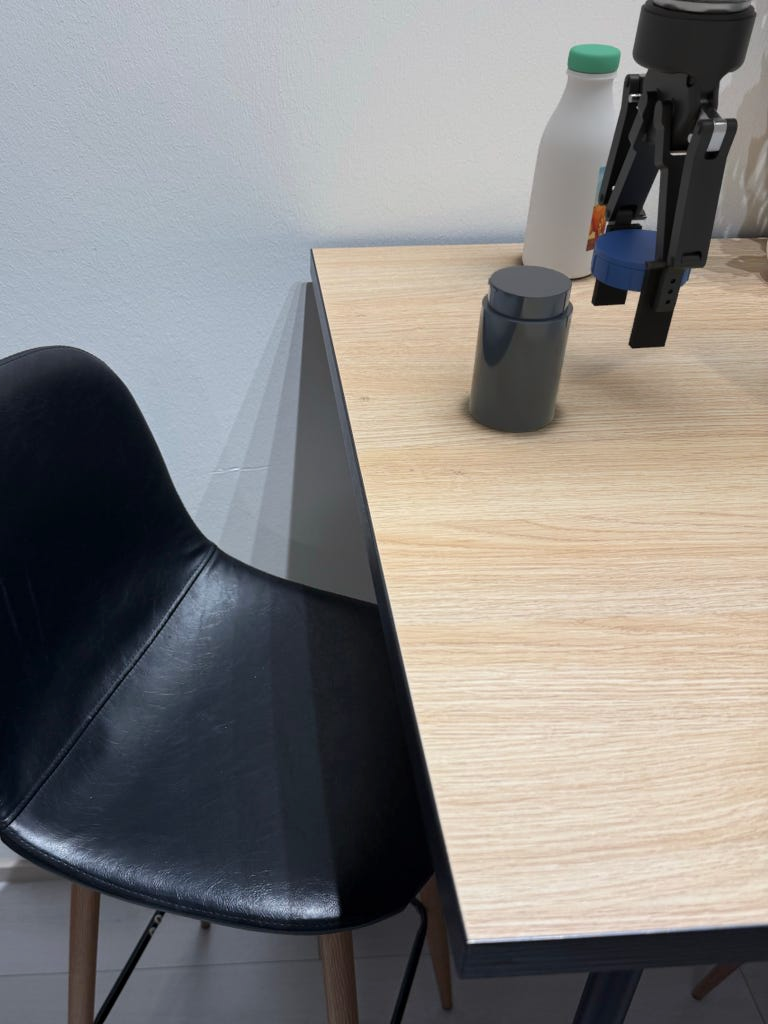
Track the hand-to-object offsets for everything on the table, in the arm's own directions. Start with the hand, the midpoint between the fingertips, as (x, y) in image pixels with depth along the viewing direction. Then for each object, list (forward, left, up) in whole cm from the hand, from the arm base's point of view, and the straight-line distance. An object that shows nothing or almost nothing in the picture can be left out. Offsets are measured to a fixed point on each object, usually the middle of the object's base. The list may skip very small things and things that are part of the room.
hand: (626, 323), depth 85 cm
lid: (0, 0, +6) cm, 6 cm away
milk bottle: (-8, -24, -5) cm, 26 cm away
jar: (+11, +2, -5) cm, 12 cm away
